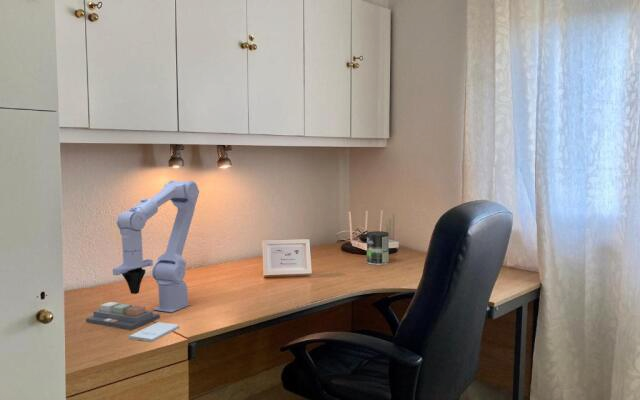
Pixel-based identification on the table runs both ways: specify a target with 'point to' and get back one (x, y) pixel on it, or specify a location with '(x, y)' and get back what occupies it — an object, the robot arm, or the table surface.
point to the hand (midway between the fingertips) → (134, 293)
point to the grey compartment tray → (122, 319)
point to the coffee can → (377, 248)
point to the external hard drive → (154, 332)
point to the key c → (135, 311)
